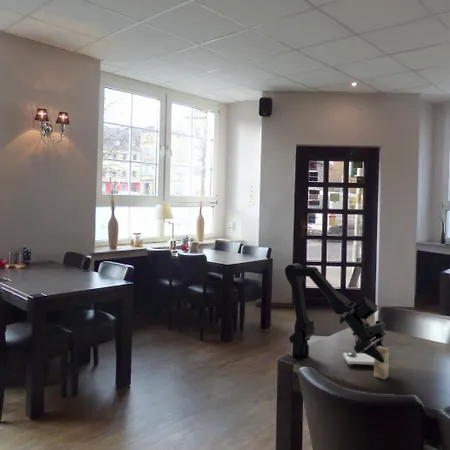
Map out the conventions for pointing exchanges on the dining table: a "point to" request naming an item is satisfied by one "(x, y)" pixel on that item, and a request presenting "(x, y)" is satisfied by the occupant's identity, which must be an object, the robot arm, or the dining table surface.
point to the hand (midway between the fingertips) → (385, 360)
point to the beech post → (382, 363)
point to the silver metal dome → (351, 354)
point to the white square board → (359, 359)
